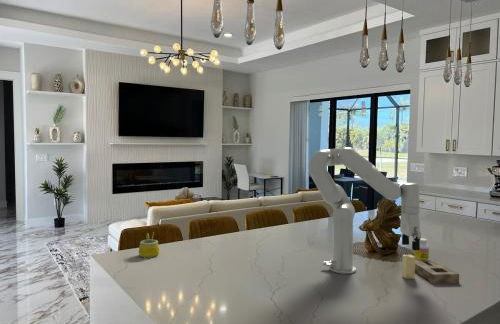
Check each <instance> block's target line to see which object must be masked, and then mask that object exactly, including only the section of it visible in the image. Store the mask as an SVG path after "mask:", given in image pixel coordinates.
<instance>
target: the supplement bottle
mask: <svg viewBox="0 0 500 324" xmlns="http://www.w3.org/2000/svg"><path fill="white" fill-rule="evenodd" d="M427 242H428V239H427V238H422V237H421V239H420V250H413V251H414V255H413V256H414V257H415V261H422V260H429V255H430V254H429V252H430V251H429V250H430V248H429V247H430V245H429V244H427Z"/></svg>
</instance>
